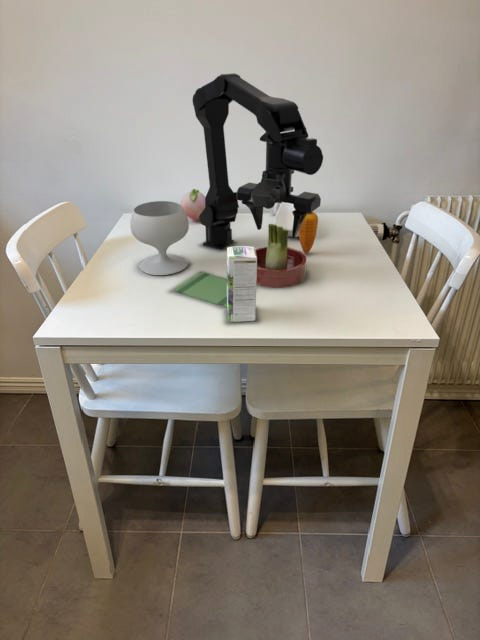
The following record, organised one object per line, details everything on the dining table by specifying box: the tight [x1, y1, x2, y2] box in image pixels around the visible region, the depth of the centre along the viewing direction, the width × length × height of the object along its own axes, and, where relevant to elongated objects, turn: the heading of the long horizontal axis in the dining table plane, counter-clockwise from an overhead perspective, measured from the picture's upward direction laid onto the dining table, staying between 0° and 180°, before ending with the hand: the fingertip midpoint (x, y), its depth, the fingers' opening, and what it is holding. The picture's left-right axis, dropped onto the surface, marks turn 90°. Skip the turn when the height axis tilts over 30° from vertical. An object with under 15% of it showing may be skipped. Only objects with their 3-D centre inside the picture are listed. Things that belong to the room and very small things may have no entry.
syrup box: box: [226, 245, 257, 323], centre depth 98 cm, size 6×6×14 cm
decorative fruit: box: [180, 188, 206, 221], centre depth 148 cm, size 9×8×10 cm
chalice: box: [130, 200, 190, 276], centre depth 119 cm, size 14×14×15 cm
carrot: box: [298, 211, 319, 255], centre depth 124 cm, size 5×5×15 cm
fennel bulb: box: [265, 223, 289, 270], centre depth 115 cm, size 6×5×12 cm
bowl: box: [255, 246, 307, 288], centre depth 117 cm, size 15×15×4 cm
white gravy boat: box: [273, 202, 299, 238], centre depth 144 cm, size 24×12×7 cm, turn 10°
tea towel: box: [172, 271, 227, 308], centre depth 112 cm, size 15×11×1 cm
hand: (276, 233), depth 113 cm, fingers open, 9 cm apart
